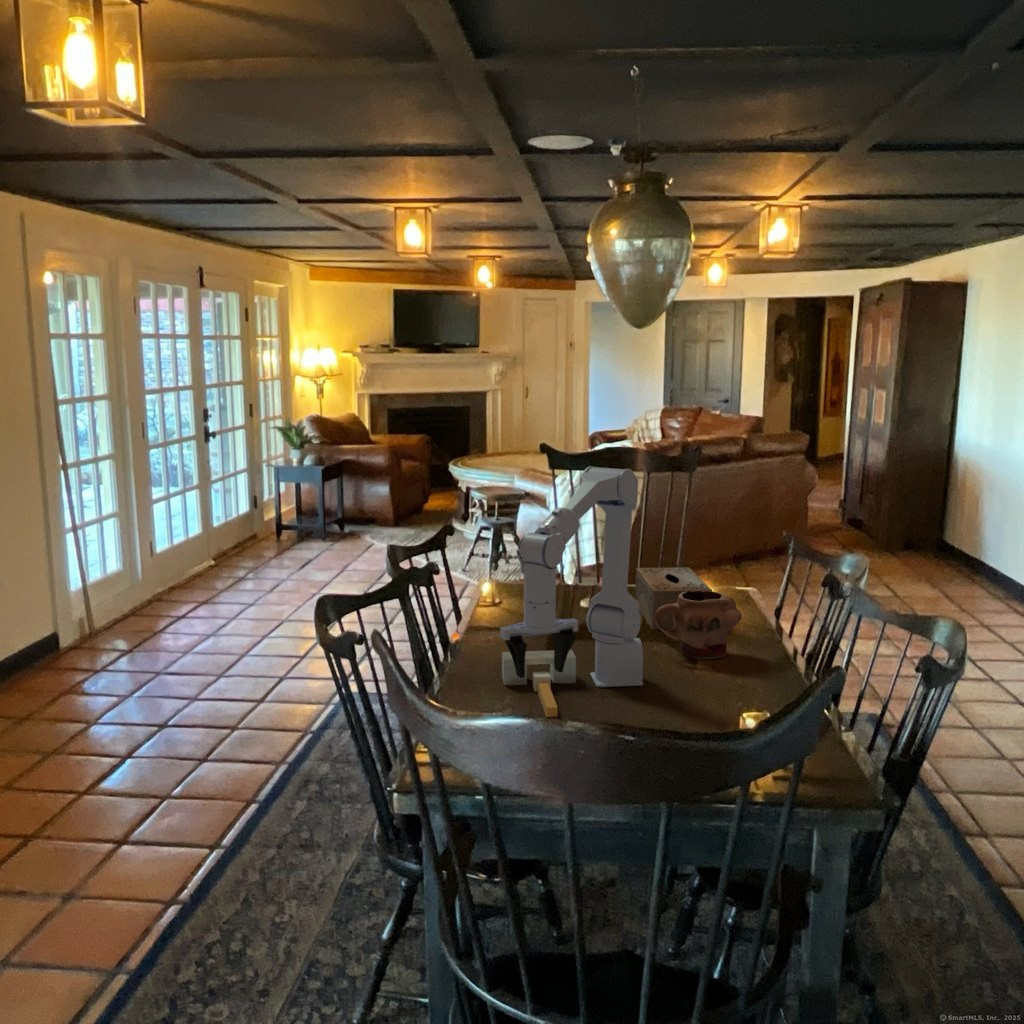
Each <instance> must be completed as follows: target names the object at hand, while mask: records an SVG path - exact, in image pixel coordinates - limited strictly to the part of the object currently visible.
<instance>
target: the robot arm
mask: <svg viewBox="0 0 1024 1024" xmlns="http://www.w3.org/2000/svg"><path fill="white" fill-rule="evenodd" d="M578 483H579V484H578V485H579V486H578V488H577V490H575V492H574V493H573V494H572V496H571V498H570V499H569V501H568V502H567V503H566V504H565V506H564V507H556V508H554V509H552V511H551V513H550V514H549V515H548V516H547V517H546V519H544V521H542V523H541V524H540V525H539V526H538V527H537V529H536V530H535V531H534V532H528V533H526V534H525V535H524V536H522V537H521V538H520V540H519V542H518V546H517V549H516V557H517V560H518V561H519V563H520V572H521V574H522V575H523V621H522V622H519V623H514V624H510V625H507V626H501V627H500V628H499V629H500V638H501V639H502V640H503V641H504V643H505V645H506V646H507V648H508V652H510V653H511V656H512V658H513V662H514V665H515V670H516V675H517V676H518V677H520V678H524V676H525V653H526V651H527V648H528V644H527V643H526V642H524V639H523V638H526V637H532V636H533V637H534V636H540V635H548V634H551V635H552V640H553V641H552V642H553V649H554V667H555V670H557V671H558V672H563V668H564V664H565V661H566V658H567V655H568V652H569V650H571V648H572V646H573V644H574V642H575V641H576V636H577V635H576V634H575V632H579V621H578V619H576V618H556V617H557V616H556V615H557V566H558V565H560V564H561V562H562V560H563V556H564V552H565V551H566V547H567V546H566V545H567V544H568V542H570V540H571V539H572V538H573V537H574V536H575V535H576V533H577V532H578V531H579V529H580V519H581V518H582V517H583V516H584V515H586V514H587V512H589V511H590V510H591V509H592V508H593V507H594V506H595V505H596V506H597V507H600V509H602V511H603V512H604V514H605V524H604V525H605V529H604V541H603V542H604V544H603V546H604V547H603V557H602V558H603V563H602V576H601V577H602V579H601V590H600V591H599V592H598V593H597V594H595V595H593V596H592V597H591V598H590V604H589V608H588V612H587V614H586V620H585V621H586V622H585V623H586V626H587V627H586V628H587V629H588V632H590V633H591V634H592V635H591V636H592V637H591V638H592V639H595V640H594V641H595V645H594V646H595V649H594V650H595V653H594V654H595V655H594V656H595V657H594V659H595V661H594V666H595V667H594V671H592V672H590V677H591V679H592V681H593V682H594V684H595V687H597V688H611V687H614V688H615V687H638V686H639V687H641V686H644V681H643V679H644V678H643V673H644V672H643V669H644V668H643V666H644V665H643V662H644V652H643V649H644V648H643V644H642V641H641V638H639V637H637V636H638V634H639V633H640V629H641V623H642V622H641V615H640V609H639V603H638V602H637V601H636V598H635V597H633V596H632V595H631V593H629V591H628V582H629V581H628V580H629V579H628V578H629V565H630V564H629V563H630V550H631V535H632V521H633V520H632V519H633V518H632V517H633V511H634V510H636V509H637V508H638V506H637V505H638V494H639V493H638V492H639V491H638V490H639V478H638V477H637V476H636V474H635V472H634V471H633V469H631V468H624V469H623V468H610V467H597V466H592V465H589V466H587V467H586V468H585V469H584V470H583V472H582V473H581V474H580V476H579V482H578Z"/></svg>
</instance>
